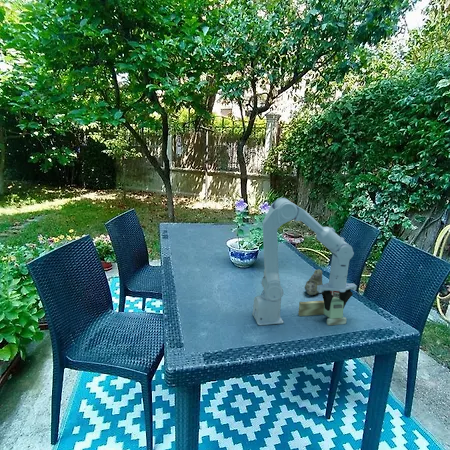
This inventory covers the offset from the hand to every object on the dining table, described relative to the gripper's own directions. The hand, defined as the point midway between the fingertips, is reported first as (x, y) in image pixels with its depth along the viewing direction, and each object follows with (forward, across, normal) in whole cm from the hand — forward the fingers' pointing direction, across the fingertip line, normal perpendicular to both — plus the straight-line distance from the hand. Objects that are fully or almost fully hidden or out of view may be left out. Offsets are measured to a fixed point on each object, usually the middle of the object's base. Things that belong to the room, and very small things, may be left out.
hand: (333, 308), depth 107 cm
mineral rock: (+5, +4, +23) cm, 24 cm away
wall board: (+5, -3, +1) cm, 6 cm away
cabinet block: (+3, 0, 0) cm, 3 cm away
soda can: (+5, +10, +14) cm, 18 cm away
